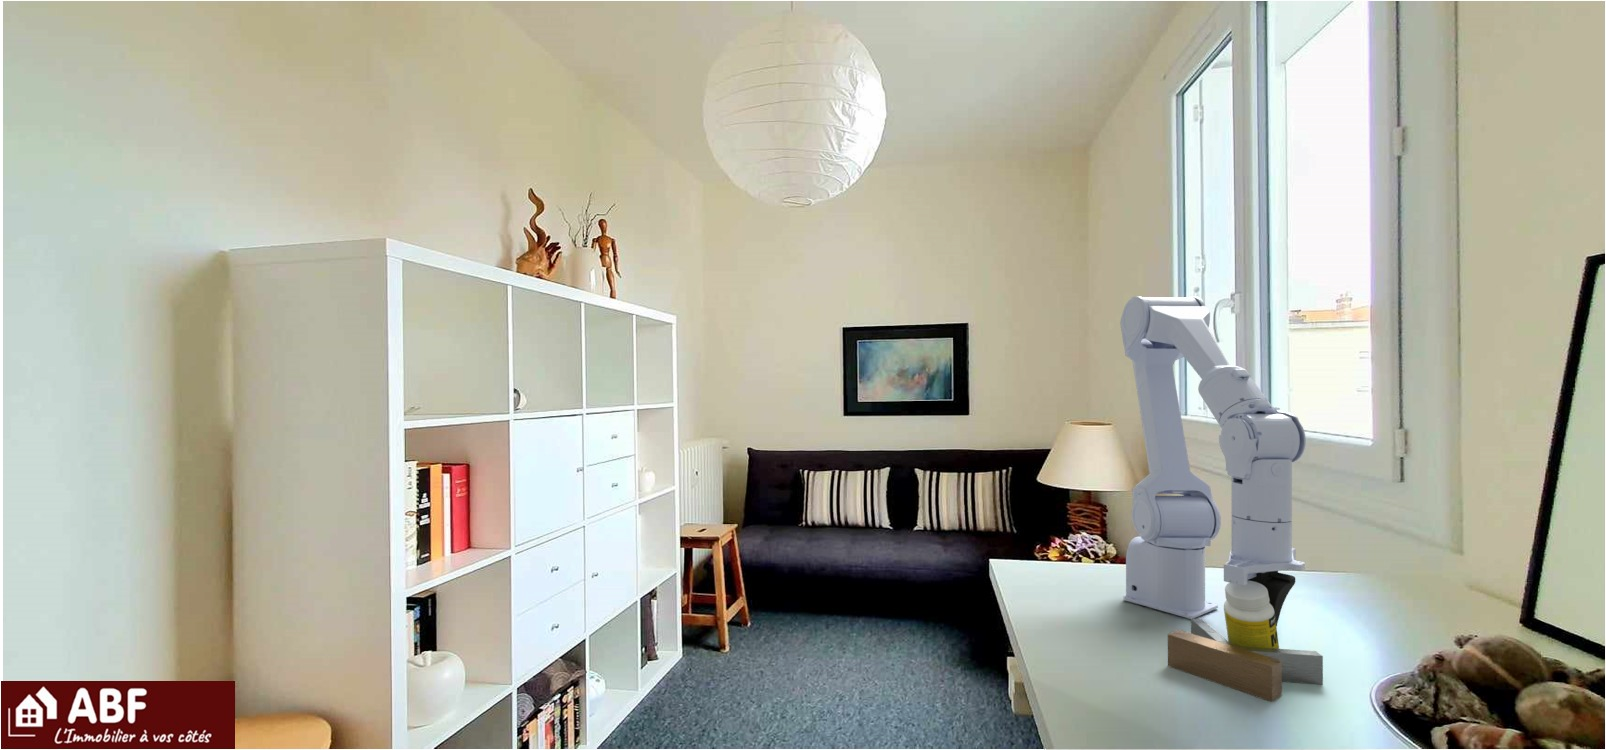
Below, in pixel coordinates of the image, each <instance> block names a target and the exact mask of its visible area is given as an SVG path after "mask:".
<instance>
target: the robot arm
mask: <svg viewBox="0 0 1606 750" xmlns="http://www.w3.org/2000/svg"><path fill="white" fill-rule="evenodd" d="M1119 321H1120V322H1119V323H1120V329H1121V331H1120V332H1121V338H1122V342H1123V344H1122V345H1123V349H1124V354H1125V356H1126V357H1127V358H1128V359H1130V360H1132V367H1133V373H1134V381H1135V386H1136V394H1137V399H1138V407H1139V413H1140V418H1141V419H1140V420H1141V427H1142V432H1143V439H1144V444H1145V451H1146V459H1147V464H1148V466H1147V467H1148V472H1149V473H1148V475H1146V476H1145V477H1144V478H1143V479H1141V480H1140V481H1139V482H1138V483H1137V484H1136V485H1134V487H1133V488H1132V507H1131V521H1132V525H1133V527H1134V528H1133V529H1135V531H1136V533H1137V534H1138V535H1139V536H1135V537H1133V538H1132V539H1131V540H1130V542H1129V543H1128V547H1127V550H1126V552H1125V553H1126V555H1125V595H1124V596H1122V598H1123V600H1124V601H1127V602H1129V603H1133V604H1136V605H1141V606H1145V607H1147V608H1150V609H1154V610H1158V611H1161V612H1165V613H1168V614H1172V615H1176V616H1179V617H1183V618H1186V619H1189V620H1191V619H1197V618H1198V617H1200V616H1202V615H1205V614H1208V613H1209V612H1212V611H1213V610H1217V609H1218V608H1219V605H1218V604H1217V603H1214V602H1211V601H1210V602H1209V601H1206V547H1211V541H1212V540H1214V539H1215V538H1217V536H1218V535H1219V532H1220V530H1221V526H1222V517H1221V513H1220V509H1219V508H1218V505H1217V504H1216V501H1215V500H1214V497H1213V494H1212V490H1211V486H1210V485H1209V483H1208V482H1206V481H1204V480H1203V479H1201V478H1200V477H1198V476H1197V475H1195V473H1193V472H1192V470H1191V466H1190V461H1189V457H1188V449H1187V444H1186V438H1185V431H1184V427H1183V420H1182V415H1181V408H1180V402H1179V397H1178V390H1177V385H1176V380H1175V375H1174V370H1173V368H1174V365H1175V362H1176V361H1178V360H1180V359H1182V358H1183V359H1185V360H1186V362H1187V363H1188V364H1189V365H1190V366H1191V367H1192V369H1193V370H1194V371H1195V372H1196V374H1197V375H1198V376H1199V377H1200V379H1201V380H1200V381H1199V383H1198V393H1199V395H1200V397H1201V398H1202V400H1203V402H1204V403H1205V405H1206V406H1207V407H1208V410H1209V411H1210V412H1211V414H1212V415H1213V417H1214V419H1215V420H1216V422H1217V424H1218V425H1219V427H1220V428H1221V433H1220V435H1218V443H1219V447H1220V450H1221V452H1222V454H1223V456H1224V460H1225V471H1227V475H1228V476H1231V550H1230V551H1229V555H1228V560H1227V562H1225V563H1224V564H1223V582H1225V583H1234V584H1238V585H1242V586H1244V585H1247V580H1248V581H1254V582H1257V583H1260V584H1262V585H1263V586H1265V587H1266V588H1267V590H1268V595H1269V599H1270V600H1269V603H1270V604H1271V605H1272V607H1273V608H1274V612H1275V619H1276V627H1278V623H1279V618H1280V615H1281V611H1282V610H1283V609H1282V608H1283V605H1284V602H1285V601H1286V599H1287V596H1288V595H1289V593H1290V591H1291V590H1292V589H1293V587H1294V586H1295V584H1296V577H1295V576H1293V575H1291V574H1287V573H1281V572H1279V571H1289V570H1290V571H1294V572H1295V571H1297V572H1300V571H1303V570H1305V569H1306V562H1304V561H1300V560H1296V559H1297V558H1296V557H1297V556H1296V554H1297V553H1296V548H1295V547H1294V548H1293V463H1295V462H1296V461H1298V460H1300V458H1301V457H1302V456H1303V454H1304V452H1305V450H1306V441H1307V439H1306V433H1305V430H1304V428H1303V425H1302V423H1301V422H1300V421H1299V418H1298V416H1296V415H1295V414H1293V413H1292V412H1287V411H1283V410H1281V408H1280V407H1277V406H1276V407H1274V406H1273V405H1272V403H1270V402H1269V400H1268V399H1267V397H1266V396H1265V394H1264V393H1263V392H1262V390H1261V389H1260V387H1259V386H1258V385H1257V384H1256V383H1255V382H1256V381H1254V380H1253V378H1252V377H1251V374H1250V373H1249V372H1248V370H1247V369H1245V368H1244V367H1241V366H1237V365H1230V364H1229V362H1228V360H1227V358H1226V357H1225V354H1224V353H1223V351H1222V350H1221V348H1220V346H1219V345H1218V342H1217V341H1216V339H1215V337H1214V335H1213V334H1212V332H1211V330H1210V329H1209V327H1210V324H1211V323H1210V321H1211V311H1210V310H1209V308H1207V306H1206V304H1205V302H1204V300H1203V299H1202V298H1201V297H1199V296H1195V295H1194V296H1193V295H1192V296H1189V297H1178V296H1177V297H1170V296H1169V297H1163V296H1162V297H1155V296H1154V297H1153V296H1152V297H1151V296H1149V297H1148V296H1147V297H1146V296H1145V297H1144V296H1143V297H1142V296H1140V295H1139V296H1138V295H1135V296H1132V297H1130V299H1128V301H1127V303H1126V304H1125V305H1124V307H1123V310H1122V314H1121V317H1120V320H1119ZM1157 494H1158V495H1157ZM1160 494H1161V495H1160ZM1175 494H1177V495H1175Z"/></svg>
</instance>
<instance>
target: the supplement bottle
mask: <svg viewBox="0 0 1606 750" xmlns="http://www.w3.org/2000/svg"><path fill="white" fill-rule="evenodd" d="M1224 593H1225V601H1224V604H1223V613H1224V621H1225V626H1226V628H1225V629H1226V634H1227V641H1228V642H1229V643H1231V644H1232V645H1233V646H1245V647H1260V648H1275V649H1280V646H1279V645H1280V644H1279V637H1278V635H1279V634H1278V631H1277V630H1278V628H1277V627H1278V626H1277V627H1276V619H1275V612H1274V608H1273V607H1272V605H1271V604H1270V603H1269V600H1270V599H1269V595H1268V590H1267V588H1266V587H1265V586H1263V585H1262V584H1260V583H1257V582H1254V581H1248V580H1247V585H1244V586H1242V585H1238V584H1234V583H1229V582H1227V583H1226V585H1225V587H1224Z"/></svg>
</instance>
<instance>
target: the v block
mask: <svg viewBox="0 0 1606 750" xmlns="http://www.w3.org/2000/svg"><path fill="white" fill-rule="evenodd" d="M1323 658H1324V656H1323V655H1322V654H1320V653H1319V652H1318V651H1315V650H1302V649H1285V648H1279V649H1275V648H1260V647H1245V646H1233V645H1232V644H1231V643H1229V642H1228V639H1226V638H1225V637H1223V636H1222V635H1221V634H1220V633H1219V632H1217V630H1215V629H1214V628H1213V627H1211V626H1210V625H1209V624H1208V623H1207V622H1206V621H1205V620H1204V619H1202V618H1193V619H1190V632H1188V631H1184V630H1181V629H1177V630H1174V631H1172V632H1169V633H1167V667H1170V668H1174V669H1176V670H1178V671H1182V672H1185V673H1187V674H1190V675H1193V676H1196V677H1198V678H1202V679H1205V680H1207V681H1211V682H1214V683H1216V684H1218V685H1222V686H1224V687H1228V688H1231V689H1232V690H1233V689H1234V690H1236V691H1239V692H1242V693H1243V694H1247V695H1251V696H1254V697H1256V698H1259V699H1262V700H1264V701H1267V702H1270V703H1273V702H1274V701H1276V700H1278V699H1279V698H1281V697H1282V696H1283V683H1295V684H1305V685H1306V684H1308V685H1321V686H1322V685H1323V684H1324V669H1323V668H1324V667H1323V666H1324V665H1323V664H1324V662H1323V660H1324V659H1323Z"/></svg>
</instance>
